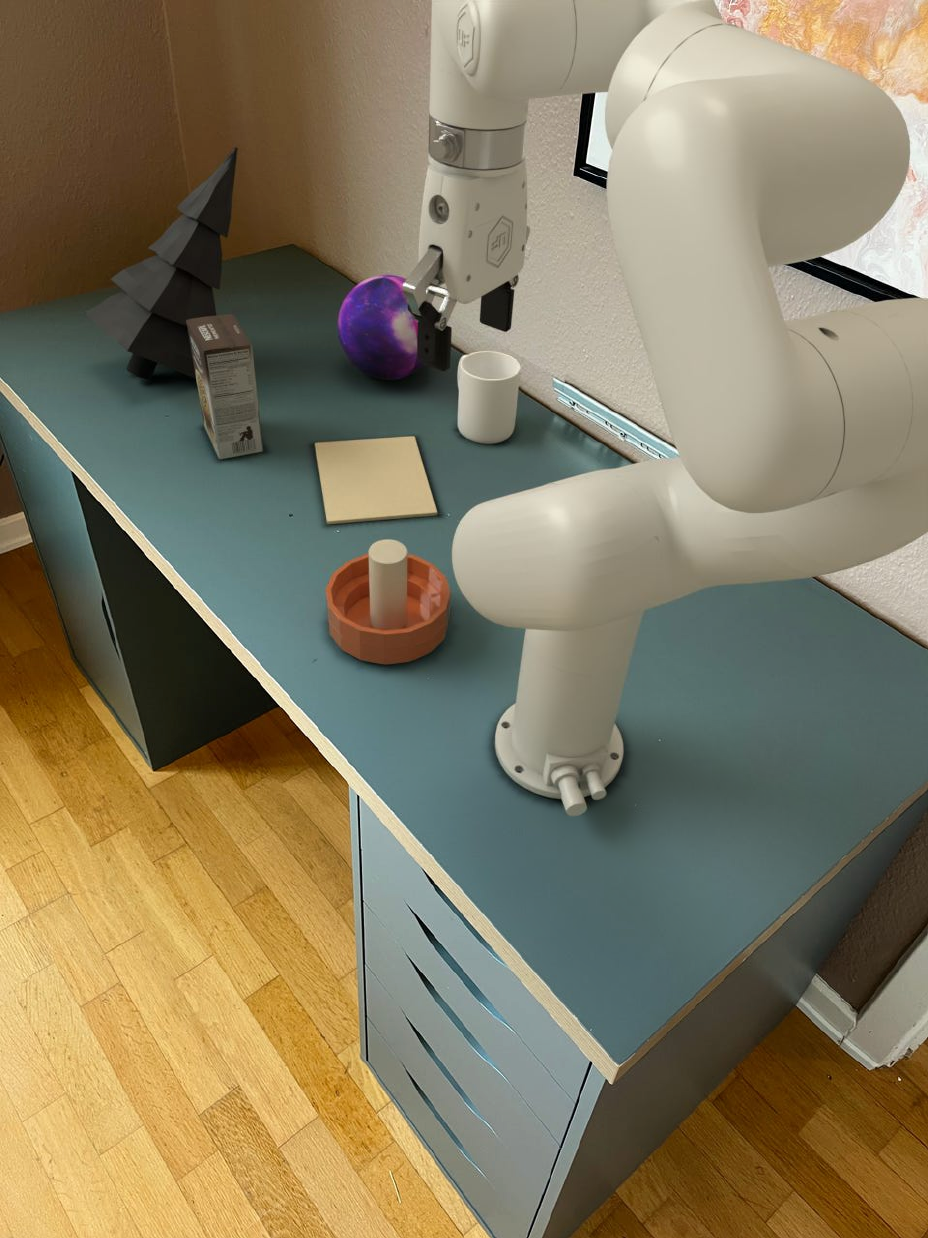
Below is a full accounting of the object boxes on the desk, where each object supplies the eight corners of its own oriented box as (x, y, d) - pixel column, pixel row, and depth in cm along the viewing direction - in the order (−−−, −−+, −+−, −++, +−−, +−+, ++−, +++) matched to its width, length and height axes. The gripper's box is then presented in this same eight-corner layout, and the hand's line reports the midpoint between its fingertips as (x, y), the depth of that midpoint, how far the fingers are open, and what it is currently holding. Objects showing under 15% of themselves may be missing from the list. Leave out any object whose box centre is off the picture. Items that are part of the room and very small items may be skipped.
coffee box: (202, 427, 130) (184, 318, 119) (247, 418, 132) (233, 311, 121) (218, 461, 124) (200, 349, 113) (265, 452, 126) (252, 342, 115)
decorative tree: (202, 408, 139) (304, 187, 130) (115, 379, 128) (220, 133, 118) (157, 368, 147) (250, 157, 138) (71, 338, 135) (166, 104, 126)
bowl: (458, 659, 99) (460, 626, 96) (335, 673, 97) (332, 640, 93) (436, 580, 108) (437, 547, 105) (323, 591, 106) (321, 557, 102)
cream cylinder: (409, 631, 101) (410, 561, 94) (372, 635, 100) (371, 565, 93) (403, 607, 104) (404, 537, 97) (368, 610, 103) (366, 540, 96)
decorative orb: (395, 341, 151) (395, 250, 141) (456, 378, 143) (460, 284, 133) (320, 368, 143) (314, 273, 133) (380, 408, 136) (379, 311, 125)
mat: (437, 515, 117) (437, 512, 117) (327, 524, 115) (327, 521, 115) (414, 438, 130) (414, 435, 130) (314, 445, 128) (314, 442, 127)
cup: (476, 450, 129) (481, 385, 122) (433, 410, 136) (435, 346, 129) (525, 436, 132) (532, 371, 125) (480, 397, 139) (485, 334, 132)
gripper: (451, 181, 65) (442, 396, 77) (573, 128, 76) (549, 325, 87) (368, 156, 68) (372, 368, 80) (497, 109, 78) (484, 302, 90)
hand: (465, 345), depth 83 cm, fingers open, 9 cm apart
